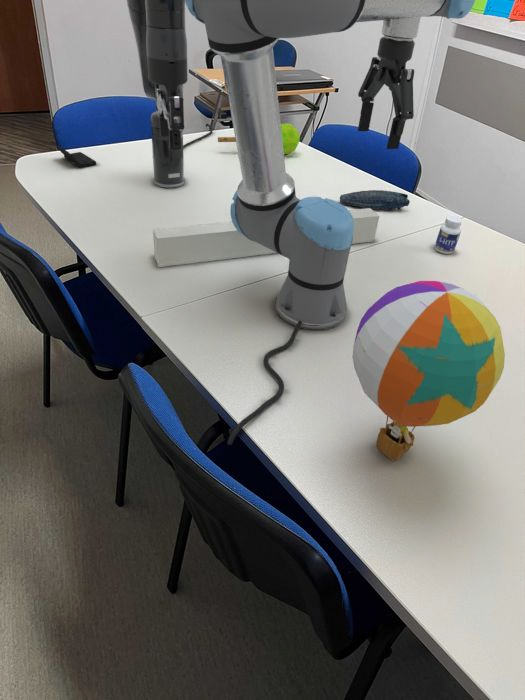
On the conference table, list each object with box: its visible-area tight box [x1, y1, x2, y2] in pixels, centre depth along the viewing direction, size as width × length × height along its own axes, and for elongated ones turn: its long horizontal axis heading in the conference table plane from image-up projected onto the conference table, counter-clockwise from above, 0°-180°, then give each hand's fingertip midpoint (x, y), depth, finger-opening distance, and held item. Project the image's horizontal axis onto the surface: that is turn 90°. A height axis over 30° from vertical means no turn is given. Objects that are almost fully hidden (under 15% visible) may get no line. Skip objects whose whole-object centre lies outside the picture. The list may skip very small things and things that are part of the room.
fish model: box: [339, 189, 411, 211], centre depth 158 cm, size 7×21×5 cm, turn 84°
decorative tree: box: [217, 123, 301, 155], centre depth 187 cm, size 18×10×30 cm
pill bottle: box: [434, 215, 463, 255], centre depth 137 cm, size 5×5×9 cm
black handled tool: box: [52, 142, 97, 168], centre depth 169 cm, size 12×7×10 cm
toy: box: [352, 280, 506, 462], centre depth 74 cm, size 20×20×30 cm
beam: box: [152, 208, 380, 268], centre depth 131 cm, size 59×5×7 cm, turn 111°
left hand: (170, 142), depth 108 cm, fingers open, 8 cm apart
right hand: (377, 139), depth 125 cm, fingers open, 13 cm apart
